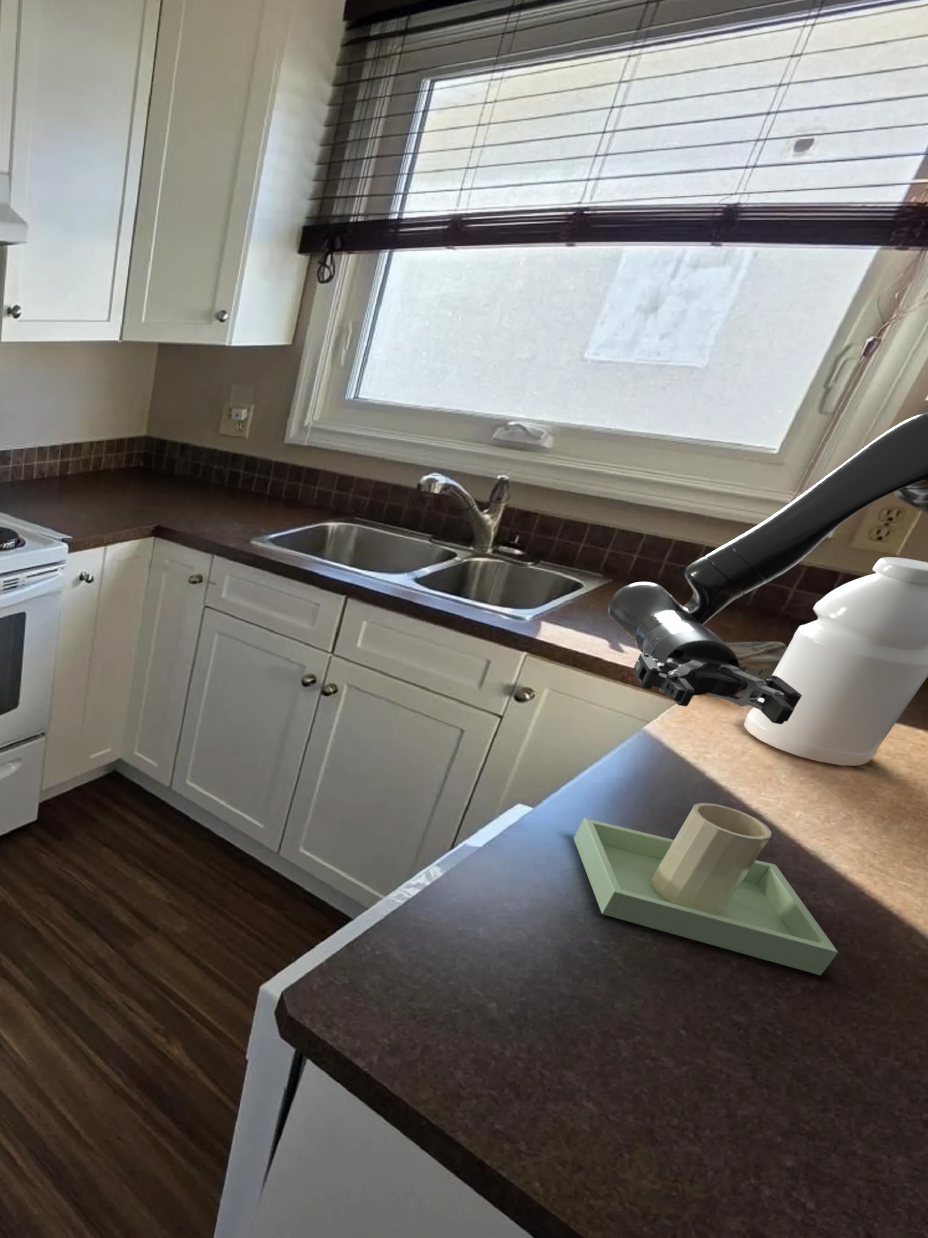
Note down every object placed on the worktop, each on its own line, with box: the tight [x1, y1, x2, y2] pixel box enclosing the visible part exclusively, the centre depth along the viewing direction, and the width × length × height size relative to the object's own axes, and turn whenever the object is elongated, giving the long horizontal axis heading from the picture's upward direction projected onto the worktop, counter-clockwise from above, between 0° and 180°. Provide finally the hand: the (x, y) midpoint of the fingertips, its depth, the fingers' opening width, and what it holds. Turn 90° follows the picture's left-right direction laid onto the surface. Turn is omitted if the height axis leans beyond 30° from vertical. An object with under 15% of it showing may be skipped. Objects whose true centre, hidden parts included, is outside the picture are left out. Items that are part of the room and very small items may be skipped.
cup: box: [650, 802, 773, 915], centre depth 84 cm, size 6×6×10 cm
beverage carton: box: [724, 640, 788, 693], centre depth 136 cm, size 8×19×7 cm, turn 101°
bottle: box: [743, 556, 928, 767], centre depth 113 cm, size 14×14×28 cm
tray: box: [573, 817, 839, 976], centre depth 86 cm, size 18×15×3 cm
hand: (734, 707), depth 90 cm, fingers open, 8 cm apart
